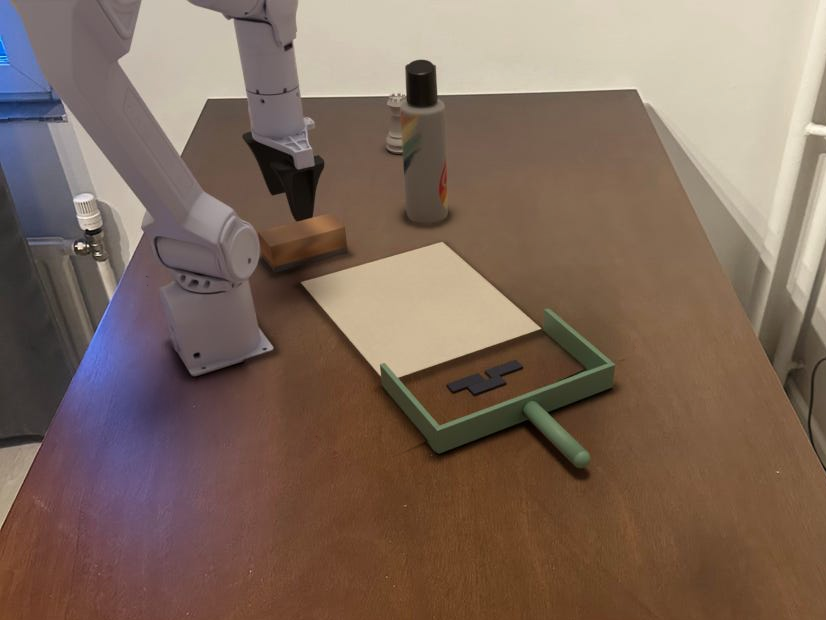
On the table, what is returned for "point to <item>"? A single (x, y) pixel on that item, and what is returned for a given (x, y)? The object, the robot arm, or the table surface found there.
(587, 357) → the green handled pusher frame
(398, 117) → the rook chess piece
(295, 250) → the eraser
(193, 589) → the table surface
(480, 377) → the stroke
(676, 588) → the table surface
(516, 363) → the stroke
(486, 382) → the stroke
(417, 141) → the lotion bottle
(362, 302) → the cream rectangular board
